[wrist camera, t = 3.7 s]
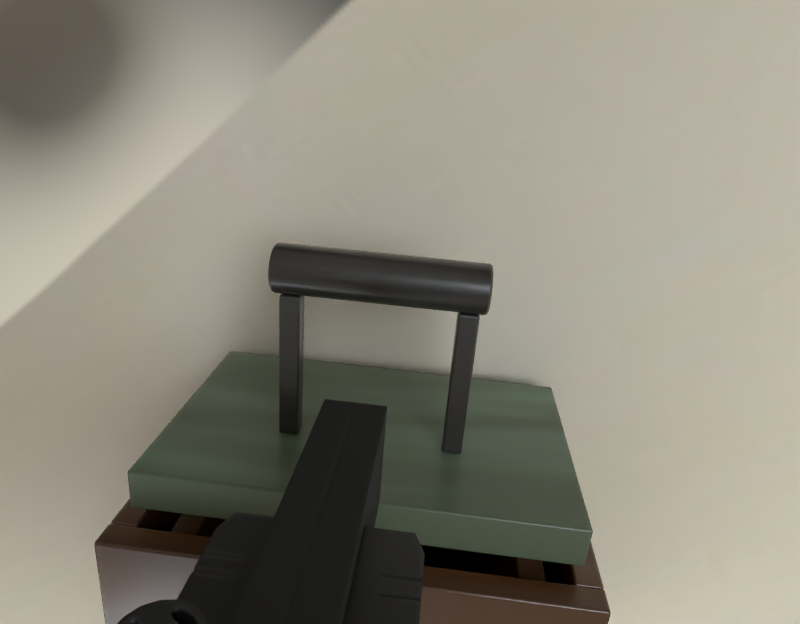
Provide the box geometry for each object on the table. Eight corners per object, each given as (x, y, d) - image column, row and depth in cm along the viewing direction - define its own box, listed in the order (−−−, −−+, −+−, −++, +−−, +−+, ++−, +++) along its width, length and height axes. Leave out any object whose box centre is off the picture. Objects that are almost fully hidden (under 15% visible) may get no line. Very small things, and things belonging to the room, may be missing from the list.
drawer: (225, 199, 21) (103, 261, 14) (580, 233, 20) (645, 318, 13) (237, 593, 28) (159, 773, 21) (504, 630, 27) (520, 830, 20)
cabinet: (225, 377, 25) (92, 542, 16) (556, 415, 24) (612, 613, 15) (233, 620, 30) (135, 850, 21) (508, 659, 29) (528, 915, 20)
